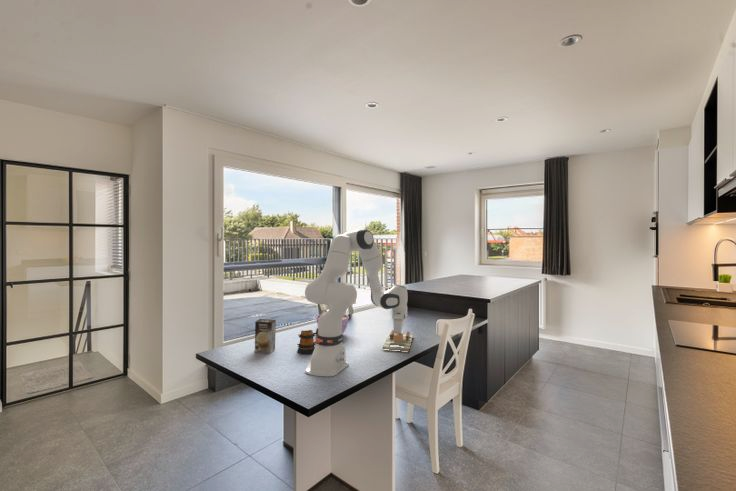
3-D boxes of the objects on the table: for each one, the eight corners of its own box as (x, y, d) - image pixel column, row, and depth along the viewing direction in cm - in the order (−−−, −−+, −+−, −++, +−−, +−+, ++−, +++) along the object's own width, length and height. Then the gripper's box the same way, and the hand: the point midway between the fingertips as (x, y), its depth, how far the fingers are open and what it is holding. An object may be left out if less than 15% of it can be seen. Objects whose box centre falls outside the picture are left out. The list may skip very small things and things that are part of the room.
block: (402, 343, 188) (402, 336, 188) (393, 342, 189) (394, 335, 188) (402, 340, 192) (403, 333, 192) (395, 340, 193) (395, 333, 193)
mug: (302, 356, 170) (302, 333, 170) (293, 350, 178) (293, 328, 178) (324, 351, 178) (325, 329, 178) (315, 346, 186) (315, 325, 186)
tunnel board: (408, 352, 178) (409, 343, 178) (382, 350, 181) (382, 341, 181) (413, 337, 206) (413, 329, 205) (390, 335, 208) (390, 327, 208)
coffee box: (253, 352, 174) (254, 321, 174) (259, 348, 180) (259, 318, 180) (271, 353, 173) (271, 322, 173) (275, 349, 180) (276, 319, 179)
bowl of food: (309, 338, 200) (310, 318, 200) (324, 329, 219) (324, 311, 219) (341, 342, 194) (341, 322, 194) (353, 332, 213) (353, 314, 213)
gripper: (396, 309, 205) (396, 331, 205) (391, 316, 185) (391, 342, 185) (406, 309, 203) (406, 332, 204) (403, 317, 183) (402, 342, 184)
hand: (399, 337), depth 194 cm, fingers closed
